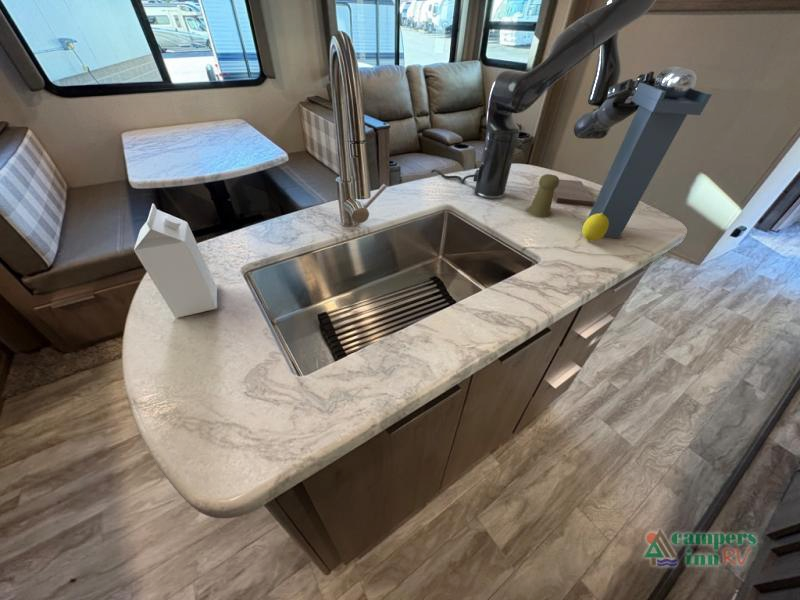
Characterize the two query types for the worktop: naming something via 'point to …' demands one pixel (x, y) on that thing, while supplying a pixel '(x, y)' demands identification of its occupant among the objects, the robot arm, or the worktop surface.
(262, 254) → the worktop surface
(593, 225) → the lemon
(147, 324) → the worktop surface
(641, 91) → the shelf stand
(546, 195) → the olive green pawn
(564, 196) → the cutting board
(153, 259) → the milk carton
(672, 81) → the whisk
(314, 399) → the worktop surface
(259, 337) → the worktop surface
